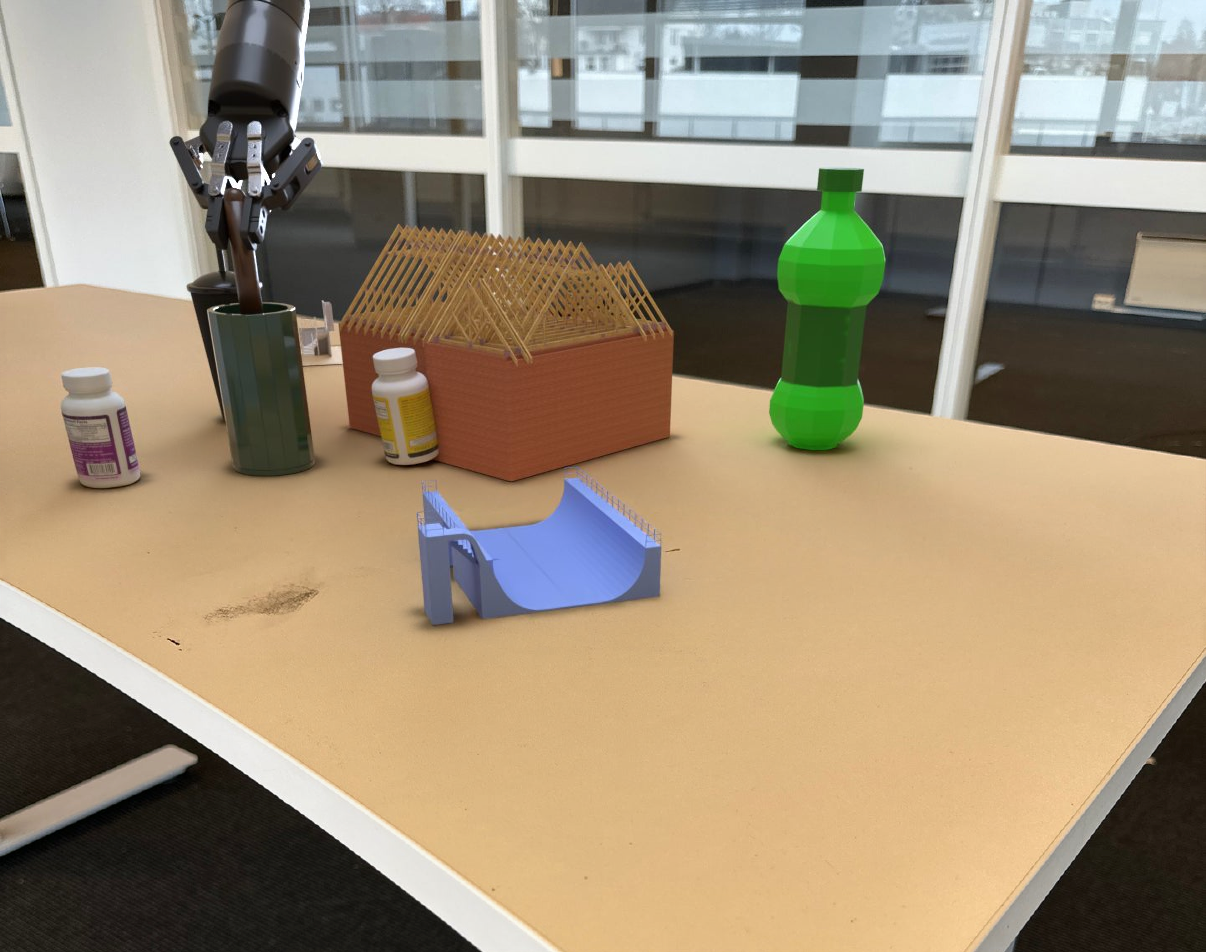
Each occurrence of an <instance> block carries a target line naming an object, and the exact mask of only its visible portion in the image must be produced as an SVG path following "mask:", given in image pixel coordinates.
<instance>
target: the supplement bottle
mask: <svg viewBox="0 0 1206 952" xmlns="http://www.w3.org/2000/svg"><path fill="white" fill-rule="evenodd" d="M373 362H374V367H375V371H376V373H378V374H379V377H378V378H377V379H376V380H375V381H374V382H373V384H372V395H373V400H374V404H375V409H376V414H377V419H378V424H379V428H380V433H381V436H380V438H381V442H382V447H383V448H382V449H383V453H384V456H385V459H386V460H387V462H389V463H391V464H392V465H397V466H398V465H399V466H409V465H416V464H422V463H426V462H429V461H431V460H433V458H435V457H436V456H437V455H438V453H439V450H438V442H437V434H436V427H435V421H434V415H433V408H432V402H431V396H430V390H429V385H428V381H427V379H426V377H425V376H424V375H423V374H421V373H419V372H416V367H417V359H416V354H415V350H414V349H411V348H394V349H387V350H383V351H380V352H378V353H376V354H374V355H373Z"/></svg>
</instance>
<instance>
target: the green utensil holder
mask: <svg viewBox="0 0 1206 952" xmlns="http://www.w3.org/2000/svg"><path fill="white" fill-rule="evenodd" d="M262 305H263V312H264V313H263V314H241V312H240V306H239V303H234V304H225V305H219V306H214V307H211V308H209V309H207V313H208V319H209V325H210V331H211V337H212V343H213V349H214V355H215V361H216V367H217V373H218V379H219V385H220V391H221V397H222V403H223V409H224V415H225V421H224V422H225V427H226V433H227V439H228V445H229V451H230V457H231V462H232V467H233V470H234V471H236V472H237V473H239V474H244V475H248V476H258V477H276V476H285V475H292V474H296V473H299V472H304V471H307V470H309V469H310V468H312V467H314V465H315V451H314V444H313V443H314V442H313V436H312V427H311V420H310V419H311V418H310V412H309V404H308V396H307V389H306V380H305V371H304V366H303V364H302V356H301V342H300V334H299V326H298V325H299V324H298V318H297V310H296V309H297V308H296V307H295V306H294V305H292V304H287V303H283V302H282V303H281V302H265V301H264V302H263V301H262Z"/></svg>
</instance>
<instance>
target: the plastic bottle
mask: <svg viewBox="0 0 1206 952" xmlns="http://www.w3.org/2000/svg"><path fill="white" fill-rule="evenodd" d="M864 174H865V168H857V167H818V174H817V175H818V176H817V185H816V191H819V192H822V193H821V203H820V209H819V211H817V212H816V213H815V214H814V215H813V216H811V218H810V219H808V220H807V221H806V222H805V223H804V224H803V225H802V226H801V227H800V228H799V229H798V230H797V231H796V232H794V234H793V235H792V236H790V238H789V239H788V240H787V241H786V242H785V243H784V245H783V247H782V250H781V252H780V254H779V257H778V258H777V259H778V261H777V272H776V275H777V276H776V277H777V284H778V291H779V292H780V293H781V295H782V296H783V298H784V299H785V301H786V302H787V309H786V322H785V331H784V341H783V352H782V353H783V354H782V364H781V365H782V366H781V375H780V378H779V380H778V382H777V383H776V385H775V388H774V390H773V393H772V395H771V397H770V400H769V410H768V414H769V418H770V421H771V424H772V426H773V427H774V429H775V430H776V432H777V433H778V434H779V435H780V436H781V437H782V438H783V440H786V441H787V445H789V446H791V447H793V448H795V449H801V450H807V451H828V450H832V449H835V448H837V447H838V444H841V443H843V442H844V441H845V440H847V438H849V437H850V436H851V435H852V434H853V433H855V431H856V430H857V428H858V427H859V425H860V423H861V421H862V418H863V413H864V403H865V397H864V394H863V389H862V385H861V382H860V380H859V370H860V362H861V354H862V346H863V339H864V330H865V321H866V313H867V306H868V305H869V304H870V302H872V300H874V299H875V297H877V295H878V294H879V293H880V290H881V286H882V284H883V280H884V275H885V270H886V269H885V268H886V255H885V251H884V246H883V243H882V242H881V241H880V239H879V238H878V237H877V235H876V234H875V233H874V231H872V229H871V228H870V227H869V224H867V223H866V221H864V219H863V218H861V216H860V215H859V214H858V213H857V212H856V211H855V204H856V196H857V193H860V192H862V191H863V183H864Z"/></svg>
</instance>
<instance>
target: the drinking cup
mask: <svg viewBox="0 0 1206 952" xmlns="http://www.w3.org/2000/svg"><path fill="white" fill-rule="evenodd" d="M214 246H215V245H214ZM214 248H215V253H216V254H215V255H216V259H217V266H218V267H217V268H218V270H216V271H211V272H208V273H205V274H203V275H200V276H198V277H197V278H195V279H194V280H193V281H192V282H189V283H187V284H186V290H187V292H188V293H189V294H190V296H191V300H192V305H193V309H194V312H195V316H196V321H197V324H198V327H199V328H198V329H199V331H200V335H201V338H202V339H201V340H202V343H203V347H204V351H205V355H206V358H207V359H206V360H207V363H208V366H209V370H210V374H211V378H212V383H213V386H214V390H215V394H216V398H217V401H218V405H219V409H220V413H221V417H222V420H223V422H226V421H225V415H224V409H223V403H222V397H221V391H220V385H219V379H218V373H217V367H216V361H215V355H214V349H213V343H212V337H211V331H210V325H209V319H208V313H207V309H209V308H211V307H214V306H219V305H225V304H234V303H239V299H238V293H237V286H236V280H235V273H234V271H233V270H227V269H226V263H225V256H224V250H218V249H217V248H216V246H215V247H214ZM259 284H260V291H261V290H263V288H264V286H263V285H264V284H263V282H261V281H259Z"/></svg>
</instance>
